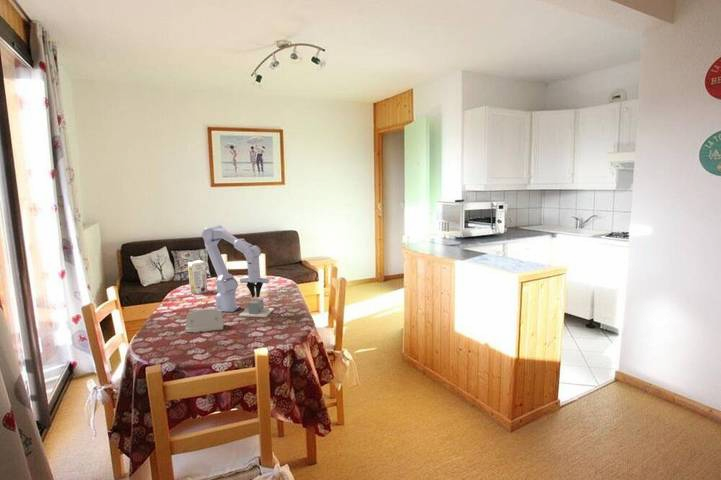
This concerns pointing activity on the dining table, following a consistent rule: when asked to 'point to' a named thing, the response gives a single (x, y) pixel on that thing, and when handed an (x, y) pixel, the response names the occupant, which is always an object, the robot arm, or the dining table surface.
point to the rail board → (262, 313)
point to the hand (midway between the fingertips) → (255, 296)
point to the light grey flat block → (204, 320)
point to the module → (255, 306)
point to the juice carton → (197, 277)
